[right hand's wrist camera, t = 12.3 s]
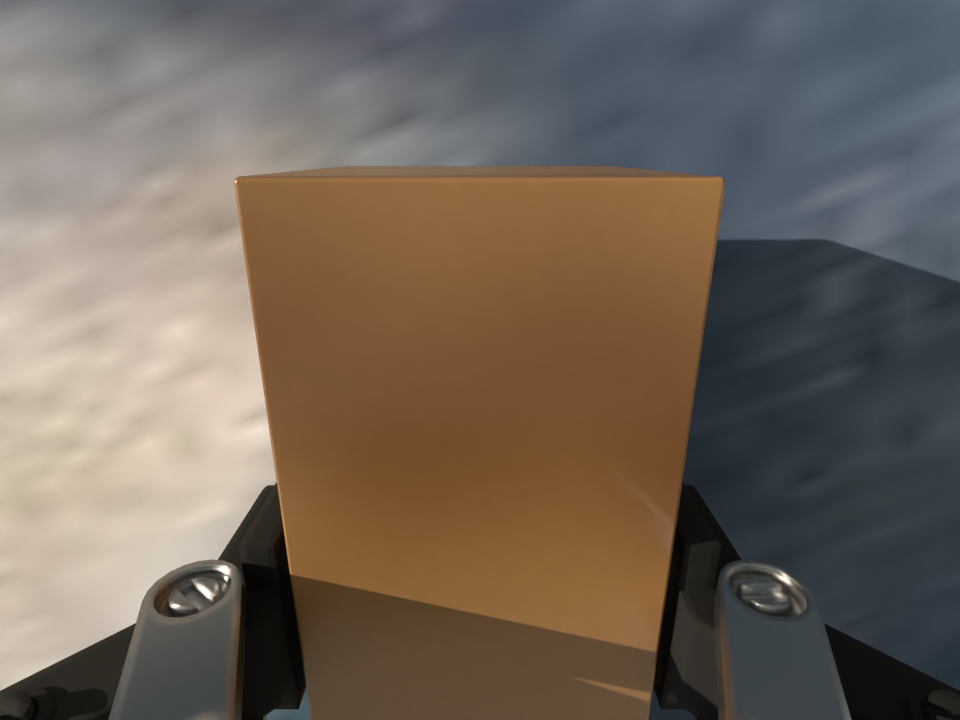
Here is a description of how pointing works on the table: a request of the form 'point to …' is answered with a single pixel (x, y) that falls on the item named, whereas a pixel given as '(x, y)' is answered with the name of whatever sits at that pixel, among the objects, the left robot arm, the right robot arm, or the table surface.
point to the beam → (479, 426)
